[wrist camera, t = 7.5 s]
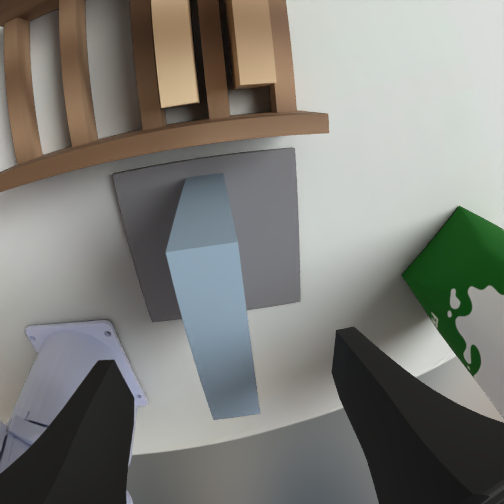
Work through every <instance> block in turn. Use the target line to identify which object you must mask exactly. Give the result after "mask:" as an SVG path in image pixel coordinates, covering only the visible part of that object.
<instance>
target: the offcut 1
mask: <svg viewBox="0 0 504 504" xmlns="http://www.w3.org/2000/svg"><path fill="white" fill-rule="evenodd" d="M151 8H152V22H153V35H154V46H155V57H156V66H157V76H158V85H159V93H160V101H161V108H171V107H177V106H184V105H190V104H197V103H200V98H199V89H198V80H197V71H196V61H195V51H194V41H193V31H192V20H191V9H190V0H151Z"/></svg>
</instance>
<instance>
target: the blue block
mask: <svg viewBox="0 0 504 504" xmlns="http://www.w3.org/2000/svg"><path fill="white" fill-rule="evenodd" d="M166 256H167V260H168V264H169V269H170V273H171V277H172V281H173V285H174V289H175V293H176V297H177V300H178V304H179V308H180V312H181V316H182V319H183V323H184V326H185V330H186V334H187V337H188V341H189V344H190V347H191V351H192V354H193V358H194V361H195V364H196V367H197V371H198V374H199V377H200V380H201V383H202V387H203V390H204V393H205V396H206V399H207V402H208V405H209V408H210V411H211V414H212V417H213V419H214V420H216V419H225V418H233V417H241V416H248V415H255V414H260V408H259V401H258V394H257V386H256V379H255V371H254V364H253V356H252V349H251V341H250V333H249V326H248V318H247V310H246V302H245V294H244V286H243V278H242V270H241V262H240V254H239V246H238V240H237V235H236V230H235V226H234V221H233V216H232V212H231V207H230V203H229V198H228V193H227V188H226V184H225V179H224V174H223V173H216V174H209V175H202V176H195V177H189V178H186V180H185V183H184V187H183V190H182V193H181V197H180V200H179V204H178V207H177V211H176V215H175V218H174V222H173V226H172V230H171V233H170V237H169V241H168V245H167V249H166Z"/></svg>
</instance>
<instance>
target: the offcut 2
mask: <svg viewBox="0 0 504 504" xmlns="http://www.w3.org/2000/svg"><path fill="white" fill-rule="evenodd" d="M224 4H225V14H226V23H227V33H228V43H229V53H230V63H231V72H232V82H233V90H237V89H248V88H261V87H265V86H268V85H271V84H274V83H277V80H276V70H275V60H274V50H273V40H272V31H271V22H270V13H269V4H268V0H224Z"/></svg>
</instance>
